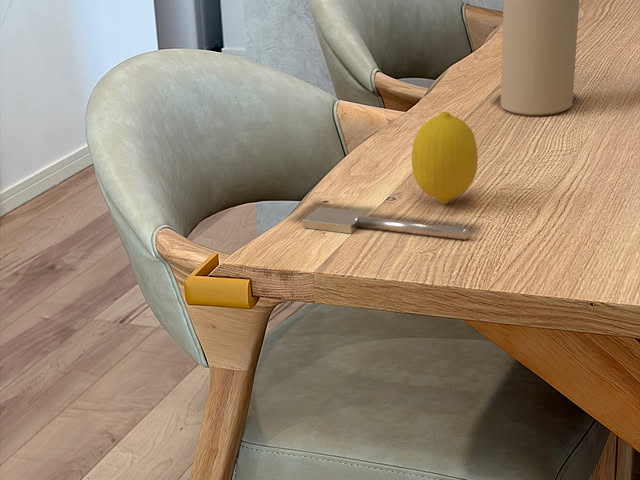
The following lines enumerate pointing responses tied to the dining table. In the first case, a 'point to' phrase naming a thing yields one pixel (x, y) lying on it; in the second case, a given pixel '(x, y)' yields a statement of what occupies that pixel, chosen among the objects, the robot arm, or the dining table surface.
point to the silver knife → (375, 224)
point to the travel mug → (538, 56)
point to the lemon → (444, 157)
